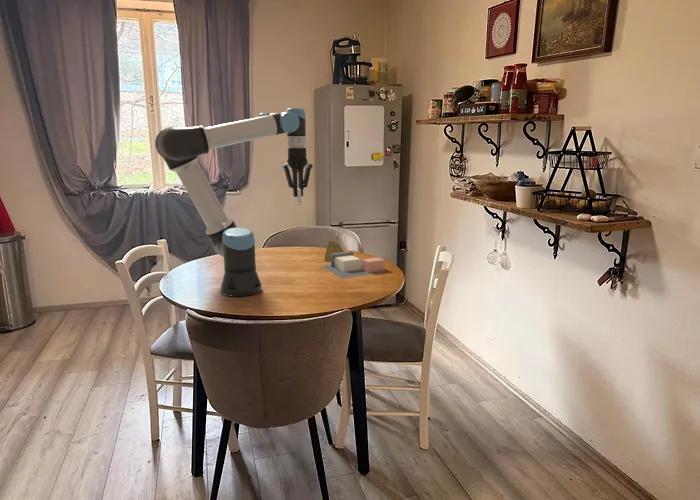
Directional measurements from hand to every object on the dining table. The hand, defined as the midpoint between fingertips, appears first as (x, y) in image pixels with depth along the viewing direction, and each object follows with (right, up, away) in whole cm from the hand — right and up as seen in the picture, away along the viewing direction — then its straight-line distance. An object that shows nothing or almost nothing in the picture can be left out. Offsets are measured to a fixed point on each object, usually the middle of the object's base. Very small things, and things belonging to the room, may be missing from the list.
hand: (298, 204), depth 211 cm
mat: (+23, -28, +7) cm, 37 cm away
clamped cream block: (+20, -27, +10) cm, 35 cm away
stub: (+32, -28, +5) cm, 42 cm away
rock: (+15, -25, +23) cm, 37 cm away
